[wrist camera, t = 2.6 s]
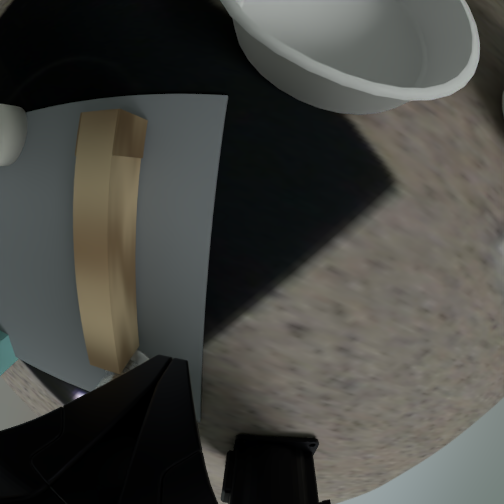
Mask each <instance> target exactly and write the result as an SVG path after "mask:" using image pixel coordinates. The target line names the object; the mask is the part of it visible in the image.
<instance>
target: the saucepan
mask: <svg viewBox="0 0 504 504" xmlns="http://www.w3.org/2000/svg"><path fill="white" fill-rule="evenodd" d="M220 1H221V3H222V4H223V5H224V7H225V8H226V10H227V11H228V13H229V15H230V16H231V17H232V19H233V23H234V28H235V32H236V35H237V38H238V42H239V45H240V47H241V48H242V50H243V52H244V54H245V55H246V57H247V59H248V60H249V62H250V63H251V64H252V65H253V66H254V67H255V68H256V69H257V71H258V72H259V73H260V74H261V75H262V76H263V77H265V78H266V79H267V80H268V81H270V82H271V83H272V84H273V85H275V86H276V87H277V88H278V89H280V90H282V91H284V92H285V93H287V94H289V95H291V96H292V97H294V98H296V99H297V100H300V101H303V102H305V103H308V104H310V105H313V106H315V107H317V108H321V109H325V110H329V111H333V112H337V113H345V114H356V115H364V114H375V113H381V112H384V111H388V110H391V109H394V108H397V107H399V106H401V105H403V104H405V103H407V102H409V101H411V100H433V99H437V98H441V97H445V96H449V95H451V94H453V93H455V92H456V91H458V90H459V89H461V88H463V87H464V86H465V85H466V84H467V83H468V82H469V80H470V79H471V78H472V76H473V75H474V74H475V71H476V68H477V65H478V62H479V56H480V41H479V35H478V30H477V26H476V23H475V20H474V18H473V15H472V13H471V10H470V8H469V6H468V4H467V3H466V1H465V0H220Z"/></svg>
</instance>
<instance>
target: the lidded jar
mask: <svg viewBox="0 0 504 504" xmlns="http://www.w3.org/2000/svg"><path fill="white" fill-rule="evenodd" d="M502 112H503V118H504V90H503V94H502Z"/></svg>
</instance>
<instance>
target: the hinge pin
mask: <svg viewBox="0 0 504 504" xmlns="http://www.w3.org/2000/svg"><path fill="white" fill-rule="evenodd" d="M149 359H150V358H149V357H148V356H147V355H146V354H145V353H143V352H142V351H140V350H139V349H137V350H136V351H135V353H134V354H133V356H132V357H131V359H130V360H129V362H128V363H127V365H126V366H125V368H124V369H123V371H122V372H121V374H117V373H114V372H111V371H107V370H105V372H106V374H105V376H104V377H103V378H102V380H101V381H100V382H99V384H98V385H97V387H96V388H98V387H100V386H102V385H104V384H106V383H107V382H109V381H111V380H113V379H115V378H117V377H119V376H120V375H122V374H124V373H126V372H128V371H129V370H131V369H133V368H135V367H137V366H138V365H140V364H142V363H144V362H145V361H147V360H149ZM96 388H95V389H96Z"/></svg>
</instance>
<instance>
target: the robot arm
mask: <svg viewBox="0 0 504 504" xmlns="http://www.w3.org/2000/svg"><path fill="white" fill-rule="evenodd" d="M318 445H319V442H318V439H316V438H284V437H267V436H255V435H245V434H239V435H237V436H236V438H235V444H234V450H233V451H232V450H230V451H228V452H227V458H226V465H225V472H224V479H223V487H222V494H221V501H222V502H225V503H228V504H331V503H330V500H324V501H322V502H319V500H318V492H317V483H316V476H315V468H314V460H313V455H314V453H315V451H316V449H317V447H318ZM0 504H218V502H217V500H216V497H215V495H214V492H213V489H212V487H211V484H210V481H209V477H208V473H207V470H206V466H205V461H204V456H203V453H202V447H201V442H200V436H199V431H198V425H197V419H196V413H195V407H194V400H193V394H192V387H191V379H190V372H189V364H188V361H187V360H185V359H180V358H172V357H170V356H165V355H161V354H158V355H156V356H154V357H152V358H151V359H149V360H147V361H145V362H144V363H142V364H140V365H138V366H137V367H135V368H133V369H131V370H129V371H128V372H126V373H124V374H122V375H120V376H119V377H117V378H115V379H113V380H111V381H109V382H107V383H106V384H104V385H102V386H100V387H98V388H96V389H94V390H93V391H91V392H89V393H87V394H85V395H83V396H81V397H79V398H77V399H75V400H73V401H71V402H69V403H68V404H66V405H64V406H63V407H59V408H57V409H55V410H53V411H51V412H49V413H47V414H45V415H43V416H40V417H38V418H36V419H34V420H31V421H28V422H26V423H23V424H20V425H18V426H14V427H11V428H8V429H5V430H2V431H0Z"/></svg>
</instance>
